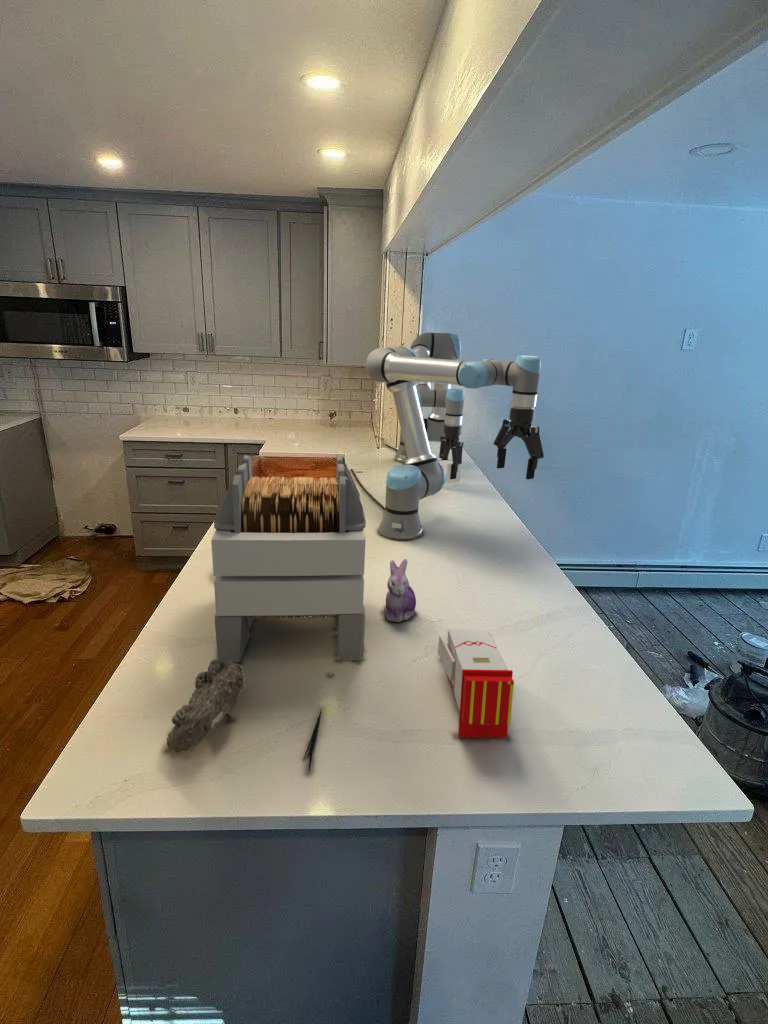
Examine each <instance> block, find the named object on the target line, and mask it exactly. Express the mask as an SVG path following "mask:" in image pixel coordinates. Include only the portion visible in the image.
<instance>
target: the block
mask: <svg viewBox="0 0 768 1024" xmlns="http://www.w3.org/2000/svg"><path fill="white" fill-rule="evenodd" d="M455 462H456V461H455ZM438 463H440V464H441V465H442V466H443V467H444V469H445V471H446V483H445V484H453V483H459V482H460V474H461V473H460V472H461V471H460V470H461V464H459V465H458V470H457V476H456V479H450V477H451V465H452V464H453V460H452V459H448V460H439V462H438Z"/></svg>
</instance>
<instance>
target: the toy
mask: <svg viewBox="0 0 768 1024" xmlns="http://www.w3.org/2000/svg"><path fill="white" fill-rule="evenodd" d="M446 640H447V643H446V641H445V639H444V636H443V635H442V634H439V637H438V646H437V656H438V657H439V659H440V661H441V663H442V666H443V668H444V670H445V672H446V674H447V677H448V679H449V681H450V684H451V687H452V690H453V693H454V697H455V701H456V705H457V708H458V711H459V714H458V715H459V716H458V730H457V731H458V732H457V737H458V738H508V731H509V726H510V725H511V717H512V707H513V697H514V696H513V695H514V684H515V680H514V679H513V673H514V671H513V670H512V669H508V667H507V665H506V662H505V661H504V659H503V658H502V655H501V653H500V651H499V649H498V647H497V643H496V639H495V637H494V635H493V634H491V632H490V631H489V629H467V628H466V629H465V628H463V629H461V628H460V629H459V628H448V630H447V639H446Z"/></svg>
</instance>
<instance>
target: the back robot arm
mask: <svg viewBox="0 0 768 1024" xmlns="http://www.w3.org/2000/svg"><path fill="white" fill-rule="evenodd" d="M409 348H411V349H412V350H414V351H415V352H416V353H417V355H418V356H419V357H420V358H434V359H447V360H460V359H461V355H462V354H461V352H462V349H461V339H460V336H459V334H457V333H451V332H430V331H429V332H424V333H421V334H420V335H418V336H417V337H415V338H414V339H413V341H412V343H411V345H410V347H409ZM431 387H432V386H431V383H427V382H418V384H417V385H416V390H417V395H418V399H419V403H420V408H431V411H430V412H429V414H428V415H427V418H425V416H424V415H423V414H422V416H423V421H424V425H425V429H426V434H427V438H428V442H436V443H437V442H439V443H440V445H439V454H438V458H439V459H441V460H440V461H442V460H449V455H450V451H451V458H452V459H451V460H453V464H452V465H451V477H450V479H456V476H457V470H458V465H459V464H460V465H462V464H463V447H464V443H465V442H464V441H460V436H461V435H462V429H463V426H462V425H463V414H464V404H465V390H464V389H463V388H458V387H452V385H448V384H438V383H433V389H432V388H431ZM399 427H400V426H399ZM399 431H400V433H399V446H398V448H395V447H393V446H392V445H389V444H388V443H387V444H388V445H389V446H388V445H387V444H385V446H386V447H387V448H389V449H391V450H393V451H395V452H396V454H395V457H394V458H395V461H396V462H399V463H401V464H402V463H403V464H405V463H406V461H407V459H408V457H407V452H406V448H405V444H404V440H403V436H402V431H401V427H400V430H399ZM375 437H377V435H375ZM455 461H456V462H455Z"/></svg>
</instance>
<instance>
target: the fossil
mask: <svg viewBox="0 0 768 1024" xmlns="http://www.w3.org/2000/svg"><path fill="white" fill-rule="evenodd" d="M217 660H218V659H217ZM217 660H216V659H212V660H211V661H210V663H209V665H208V666H207V671H201V672H199V673H198V674H197V675H196V676H195V680H194V684H195V685H194V687H195V689H194V690H193V693H192V694H191V697H190V698H189V700H188V704H184V705H182V706H181V707H180V709H177V710H176V711H175V713H174V715H173V716H172V718H171V723H172V724H173V727H172V730H171V731H170V732H168V734H167V738H166V741H167V742H166V745H167V749H168V750H169V751H173V752H174V753H176V754H178V753H182V752H188V751H189V752H192V751H193V750H195V748H196V747H197V746H199V744H200V743H201V742H203V741H204V740H205V739H206V738H207V737H208V736H209V735H210V734H211V733H212V732H214V730H215V729H217V727H218V726H219V724H220V722H221V721H222V720H223V719H224V718H225V716H226V717H227V719H229V720H233V717H232V715H230V714H229V710H230V709H231V708H234V706H235V704H236V703H237V702H238V699H239V697H240V695H241V693H242V691H243V690H245V689H244V688H245V675H244V671H243V670H244V669H243V667H242V665H240V664H237V662H235V661H234V660H232V659H231V660H228V659H227V660H224V661H223V662H222V661H217Z"/></svg>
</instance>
